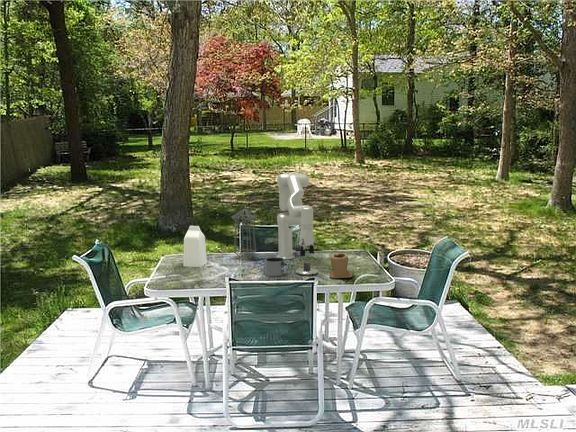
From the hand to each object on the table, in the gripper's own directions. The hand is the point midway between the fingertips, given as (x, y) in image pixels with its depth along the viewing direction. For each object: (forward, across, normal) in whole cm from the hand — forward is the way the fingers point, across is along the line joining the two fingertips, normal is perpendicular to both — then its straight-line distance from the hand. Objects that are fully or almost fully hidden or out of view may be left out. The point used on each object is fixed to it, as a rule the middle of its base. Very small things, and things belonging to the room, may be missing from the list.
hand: (307, 254), depth 342 cm
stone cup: (+13, -4, +22) cm, 26 cm away
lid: (+12, 0, -1) cm, 12 cm away
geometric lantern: (+11, -12, -59) cm, 61 cm away
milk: (+11, +22, -75) cm, 78 cm away
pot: (+12, +12, -17) cm, 23 cm away
